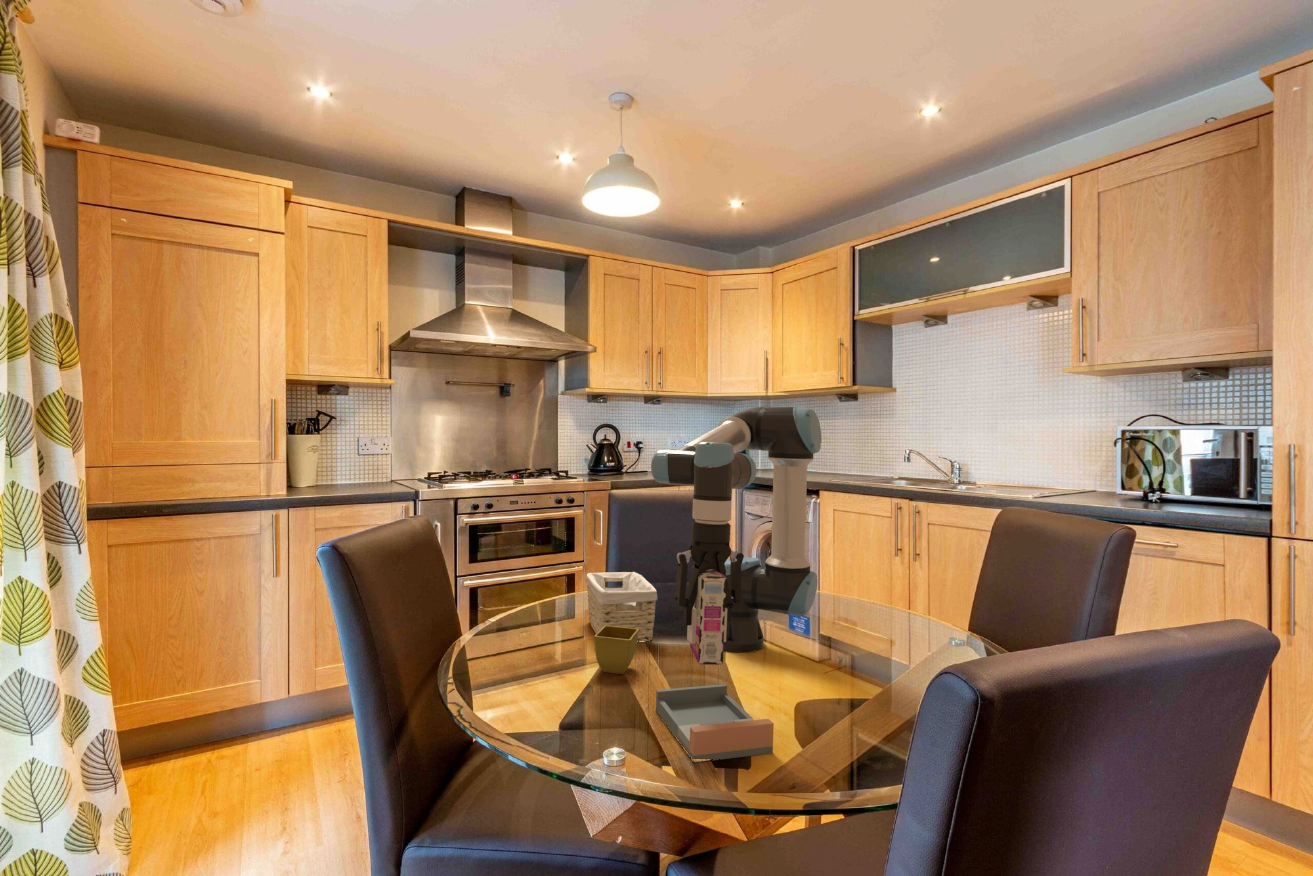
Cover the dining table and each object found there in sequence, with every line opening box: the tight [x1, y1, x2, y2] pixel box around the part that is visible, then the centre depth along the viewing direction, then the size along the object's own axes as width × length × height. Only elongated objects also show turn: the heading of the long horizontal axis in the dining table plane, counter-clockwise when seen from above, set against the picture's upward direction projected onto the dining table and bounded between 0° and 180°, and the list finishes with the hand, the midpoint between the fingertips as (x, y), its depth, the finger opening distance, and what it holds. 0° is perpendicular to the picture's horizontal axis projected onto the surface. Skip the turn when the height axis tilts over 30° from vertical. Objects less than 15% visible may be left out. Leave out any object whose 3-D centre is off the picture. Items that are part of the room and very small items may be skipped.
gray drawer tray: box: [655, 683, 775, 761], centre depth 118 cm, size 15×21×5 cm
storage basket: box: [585, 571, 658, 642], centre depth 177 cm, size 24×16×15 cm
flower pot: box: [593, 626, 639, 675], centre depth 148 cm, size 9×9×9 cm
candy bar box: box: [689, 565, 726, 666], centre depth 122 cm, size 11×5×16 cm, turn 5°
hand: (706, 640), depth 122 cm, fingers closed on candy bar box, 6 cm apart
